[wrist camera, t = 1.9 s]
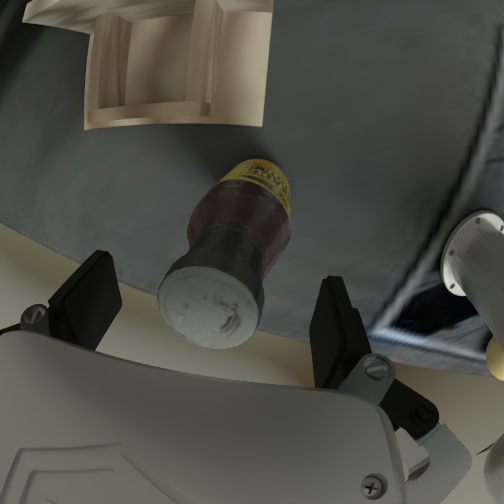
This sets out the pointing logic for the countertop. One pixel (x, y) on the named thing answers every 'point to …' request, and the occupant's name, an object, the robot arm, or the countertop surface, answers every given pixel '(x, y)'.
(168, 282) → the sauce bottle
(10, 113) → the countertop surface
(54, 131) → the countertop surface
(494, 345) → the pale yellow rounded lump
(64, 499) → the robot arm
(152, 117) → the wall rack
